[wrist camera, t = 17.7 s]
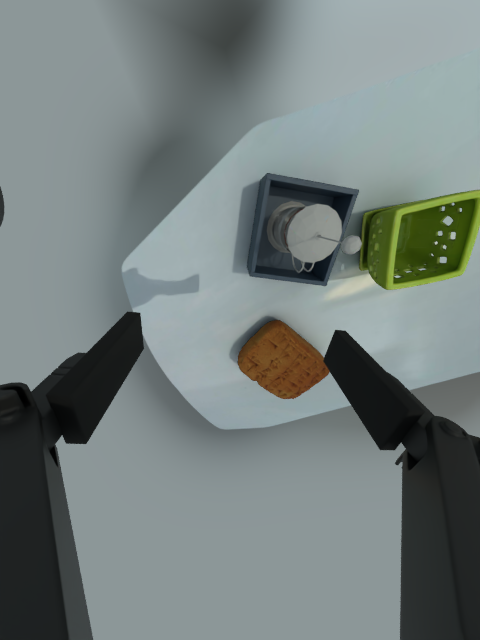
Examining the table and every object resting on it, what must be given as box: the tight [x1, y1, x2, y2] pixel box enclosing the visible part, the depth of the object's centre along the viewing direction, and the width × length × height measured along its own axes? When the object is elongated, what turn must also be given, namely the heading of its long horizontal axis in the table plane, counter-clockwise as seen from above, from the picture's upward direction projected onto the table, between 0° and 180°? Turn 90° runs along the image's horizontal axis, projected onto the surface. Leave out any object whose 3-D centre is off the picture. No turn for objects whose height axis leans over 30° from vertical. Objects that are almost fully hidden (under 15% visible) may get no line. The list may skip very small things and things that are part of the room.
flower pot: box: [359, 190, 480, 290], centre depth 40 cm, size 14×14×13 cm
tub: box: [247, 173, 359, 286], centre depth 40 cm, size 17×16×8 cm
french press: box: [267, 201, 362, 273], centre depth 32 cm, size 10×12×25 cm
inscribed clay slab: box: [238, 320, 330, 399], centre depth 55 cm, size 22×17×8 cm
